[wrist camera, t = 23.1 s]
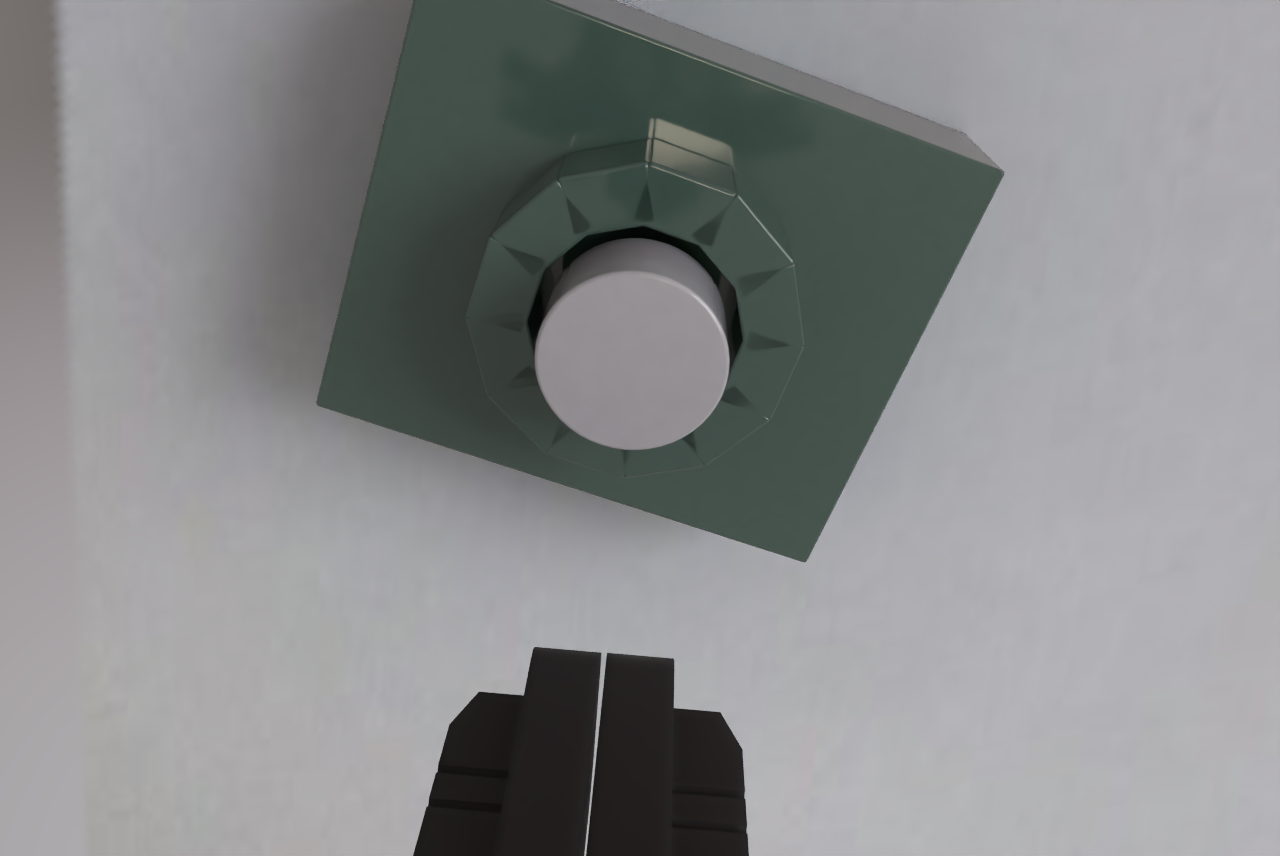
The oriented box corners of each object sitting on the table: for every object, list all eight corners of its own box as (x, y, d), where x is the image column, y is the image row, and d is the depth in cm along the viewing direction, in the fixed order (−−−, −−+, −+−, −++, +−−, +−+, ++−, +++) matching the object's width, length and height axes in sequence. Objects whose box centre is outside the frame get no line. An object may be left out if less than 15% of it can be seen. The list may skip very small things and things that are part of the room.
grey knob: (524, 372, 23) (509, 416, 21) (578, 210, 21) (568, 243, 19) (688, 427, 23) (688, 475, 21) (754, 272, 22) (760, 311, 20)
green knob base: (355, 346, 28) (285, 448, 23) (458, -60, 24) (399, -40, 19) (793, 490, 30) (814, 614, 25) (967, 133, 25) (1034, 199, 20)
